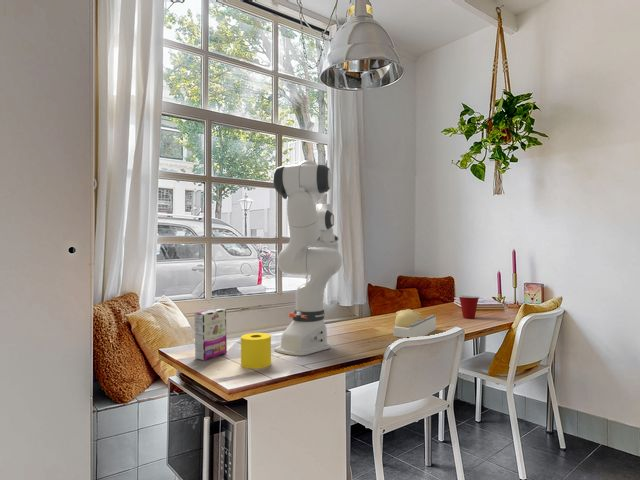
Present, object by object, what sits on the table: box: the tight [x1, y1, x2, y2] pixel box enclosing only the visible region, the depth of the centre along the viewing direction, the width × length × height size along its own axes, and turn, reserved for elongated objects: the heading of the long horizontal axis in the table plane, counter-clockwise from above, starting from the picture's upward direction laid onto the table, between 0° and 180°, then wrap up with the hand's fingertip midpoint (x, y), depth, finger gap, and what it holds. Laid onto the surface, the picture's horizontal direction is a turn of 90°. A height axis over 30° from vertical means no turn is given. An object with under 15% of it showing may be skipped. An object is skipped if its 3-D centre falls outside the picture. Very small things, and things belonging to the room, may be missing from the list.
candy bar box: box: [194, 308, 228, 361], centre depth 150 cm, size 11×5×16 cm, turn 148°
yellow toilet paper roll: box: [240, 332, 272, 370], centre depth 141 cm, size 10×10×9 cm
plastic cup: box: [458, 294, 480, 320], centre depth 222 cm, size 11×11×12 cm
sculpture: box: [394, 308, 422, 328], centre depth 186 cm, size 11×12×11 cm
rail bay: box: [392, 314, 437, 339], centre depth 185 cm, size 28×11×7 cm, turn 146°
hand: (324, 266), depth 200 cm, fingers closed
